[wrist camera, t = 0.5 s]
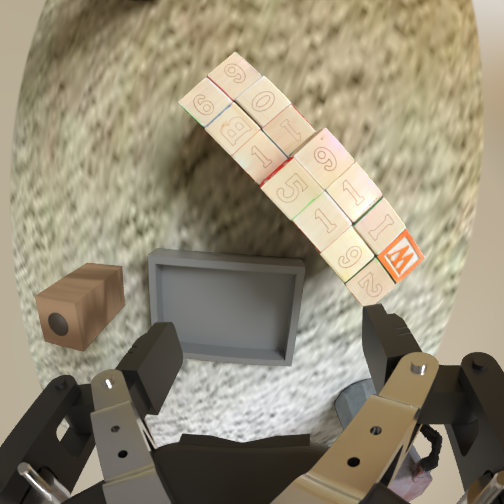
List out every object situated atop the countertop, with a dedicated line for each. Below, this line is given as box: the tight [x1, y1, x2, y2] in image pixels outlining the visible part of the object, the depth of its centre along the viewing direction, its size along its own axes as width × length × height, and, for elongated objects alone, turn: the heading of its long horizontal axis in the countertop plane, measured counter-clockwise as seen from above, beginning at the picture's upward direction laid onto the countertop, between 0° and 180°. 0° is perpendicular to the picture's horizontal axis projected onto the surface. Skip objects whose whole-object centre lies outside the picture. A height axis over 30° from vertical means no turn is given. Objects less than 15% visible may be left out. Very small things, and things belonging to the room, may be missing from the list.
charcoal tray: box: [148, 248, 306, 366], centre depth 33 cm, size 12×16×3 cm
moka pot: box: [335, 379, 442, 502], centre depth 29 cm, size 10×15×20 cm, turn 165°
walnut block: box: [35, 263, 125, 351], centre depth 29 cm, size 5×5×11 cm
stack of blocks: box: [178, 52, 425, 306], centre depth 25 cm, size 21×6×12 cm, turn 43°
